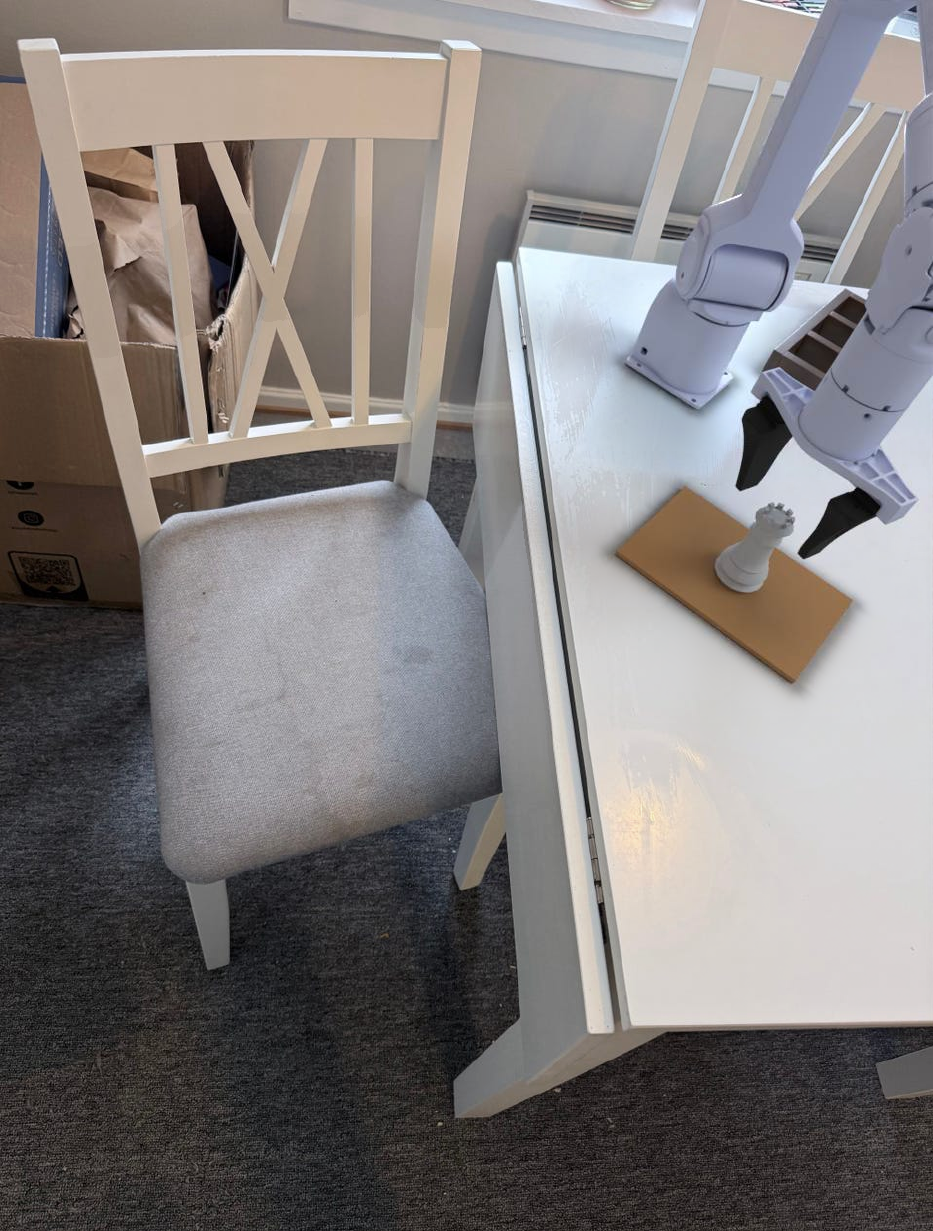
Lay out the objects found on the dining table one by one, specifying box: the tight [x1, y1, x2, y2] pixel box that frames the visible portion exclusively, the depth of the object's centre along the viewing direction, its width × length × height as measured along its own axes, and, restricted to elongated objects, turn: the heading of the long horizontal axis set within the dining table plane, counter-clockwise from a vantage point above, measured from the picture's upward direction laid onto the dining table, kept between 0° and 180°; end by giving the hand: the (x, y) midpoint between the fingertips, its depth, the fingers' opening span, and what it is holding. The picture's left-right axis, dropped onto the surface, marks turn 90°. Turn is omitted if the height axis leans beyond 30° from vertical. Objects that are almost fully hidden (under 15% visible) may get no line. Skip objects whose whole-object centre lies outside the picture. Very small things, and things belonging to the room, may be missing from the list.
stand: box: [761, 287, 867, 391], centre depth 96 cm, size 7×20×3 cm, turn 140°
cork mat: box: [615, 485, 854, 684], centre depth 74 cm, size 18×12×1 cm, turn 50°
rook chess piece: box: [715, 501, 796, 593], centre depth 70 cm, size 4×4×8 cm
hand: (776, 518), depth 67 cm, fingers open, 7 cm apart
